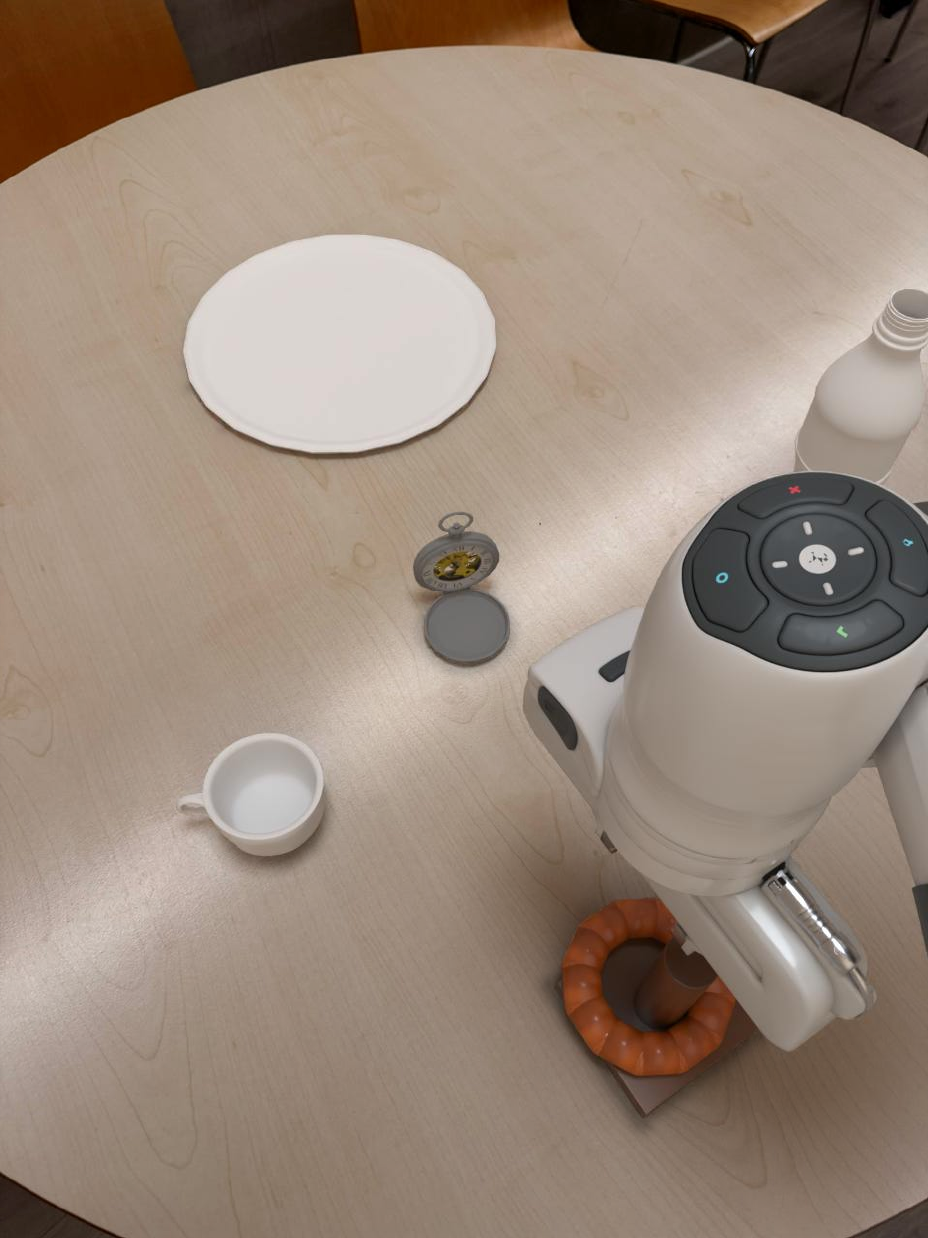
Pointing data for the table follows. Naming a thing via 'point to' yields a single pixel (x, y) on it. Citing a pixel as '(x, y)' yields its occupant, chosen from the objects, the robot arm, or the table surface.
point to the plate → (339, 343)
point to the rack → (661, 1008)
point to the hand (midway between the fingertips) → (651, 885)
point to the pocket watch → (461, 595)
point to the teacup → (262, 794)
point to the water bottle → (869, 396)
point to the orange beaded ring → (597, 1018)
